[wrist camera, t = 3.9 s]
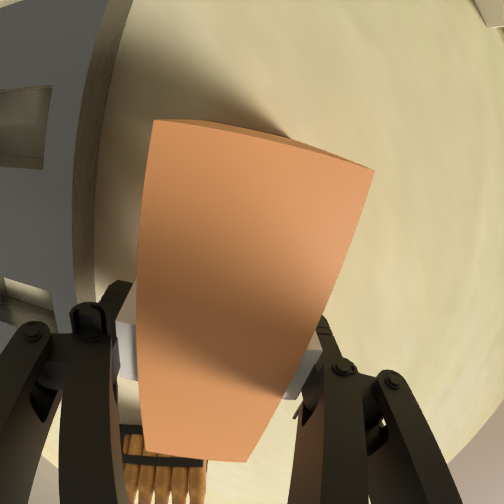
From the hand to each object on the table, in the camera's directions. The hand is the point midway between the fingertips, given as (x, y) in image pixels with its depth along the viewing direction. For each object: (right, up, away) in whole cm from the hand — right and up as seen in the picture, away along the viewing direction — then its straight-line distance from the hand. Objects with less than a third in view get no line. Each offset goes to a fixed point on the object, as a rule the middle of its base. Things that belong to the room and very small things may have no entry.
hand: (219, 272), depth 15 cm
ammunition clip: (-8, -18, +12) cm, 23 cm away
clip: (0, +1, +3) cm, 3 cm away
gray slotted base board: (-14, +4, +1) cm, 14 cm away
